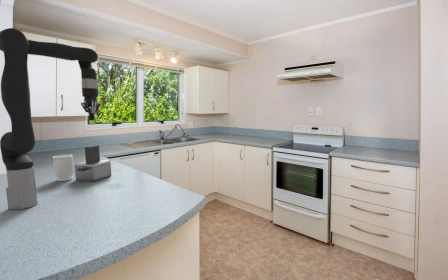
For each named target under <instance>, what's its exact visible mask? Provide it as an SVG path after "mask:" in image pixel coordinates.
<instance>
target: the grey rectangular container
mask: <svg viewBox="0 0 448 280" xmlns="http://www.w3.org/2000/svg"><path fill="white" fill-rule="evenodd" d="M111 165H112V164H111V162H109V163H105V164H101V165H98V166H94V167H90V166H77V165H74V174H75V181H79V182H80V181H81V182H91V183H96V182H98V181H101V180H104V179H107V178H110V177H112V166H111Z"/></svg>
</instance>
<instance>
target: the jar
mask: <svg viewBox="0 0 448 280" xmlns="http://www.w3.org/2000/svg"><path fill="white" fill-rule="evenodd" d="M73 155H74V154H69V153H68V154H66V153H65V154H58V155H53V156H52V159H53V162H52V165H53V171H54V174H55V176H56V181H57V182H65V181H70V180H73V179H74V177H73V174H74V170H75V162H74V159H73V157H74V156H73Z"/></svg>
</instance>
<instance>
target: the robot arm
mask: <svg viewBox="0 0 448 280" xmlns="http://www.w3.org/2000/svg"><path fill="white" fill-rule="evenodd" d="M0 51H1V52H3V57H4V66H3V70H2V74H1V78H0V95H1V97H0V98H1V101H2V104H3V106H4V108H5V110H6V112H7V114H8V117H9V119H10V121H11V131H7V132H5V133H3V135H2V136H1V137H0V152H1V159H2V162H3V164H4V166H5V171H6V179H7V187H5V192H6V194H5V195H6V200H7V201H6V202H7V208H8V210H13V211H15V210H17V211H20V210H21V211H22V210H23V209H24V210H25V209H29V208H31V207H34V206H36V205H37V204H38V196H37V195H38V194H37V187H36V185H37V184H36V176H35V175H36V174H35V166H34V165H35V164H34V161H33V159H31V158H30V157H29V155H28V153H30V152H32V150H33V149H34V148H35V145H36V144H35V143H36V137H35V132H34V127H33V122H32V108H31V89H30V79H29V76H30V75H29V70H28V57H29V55H31V56H42V57H48V58H54V59H60V60H64V61H77V62H78V65H79V69H80V73H81V82H80V83H81V94H82V97H83V98H84V99H83V102H80V106H82V109H83V110H84V112H85V113H87V114H88V119H89V121H95V119H96V118H95V117H96V116H95V115H96V113H97V112H98V111H99V109H100V106H101V103H98V99H97V98H98V97H99V86H98V80H97V71H96V69H95V68H93V65H92V64H93V63H96V62H97V61H98V59H99V55H98V53H97V51H95V50H94V49H92V48H88V47H80V46H71V45H68V44H64V43H59V42H58V43H57V42H47V41H46V42H45V41H39V40H37V41H36V40H32V39H28V38H27V36H26V35H25V34H24V33H23V32H22V31H21V30H19V29H16V28H13V27H10V28H9V27H8V28H5V29H3V30H1V31H0Z"/></svg>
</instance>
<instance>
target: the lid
mask: <svg viewBox="0 0 448 280" xmlns="http://www.w3.org/2000/svg"><path fill="white" fill-rule="evenodd" d="M100 154H101V153H100V145H98V144H97V145H96V144H95V145H89V146H88V145H87V146H84V158H85V161H84V160H83V161H80V162H77V163H76V162H74V166H76V165H77V166H90V167H94V166H98V165H101V164H105V163H109V162H111V160H108V159H101V155H100Z"/></svg>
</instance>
